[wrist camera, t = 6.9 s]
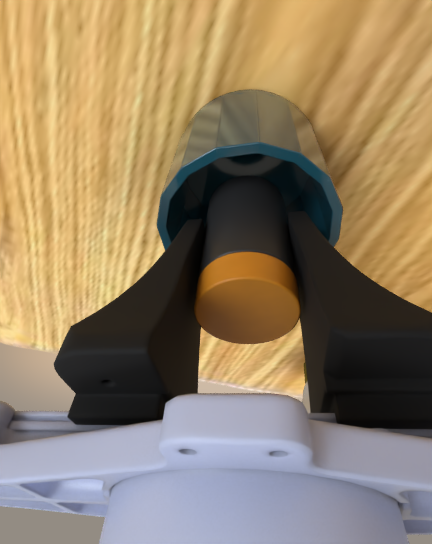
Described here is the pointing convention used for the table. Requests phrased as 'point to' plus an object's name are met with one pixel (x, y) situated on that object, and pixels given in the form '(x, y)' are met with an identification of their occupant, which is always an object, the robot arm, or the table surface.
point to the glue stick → (247, 265)
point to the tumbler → (249, 161)
